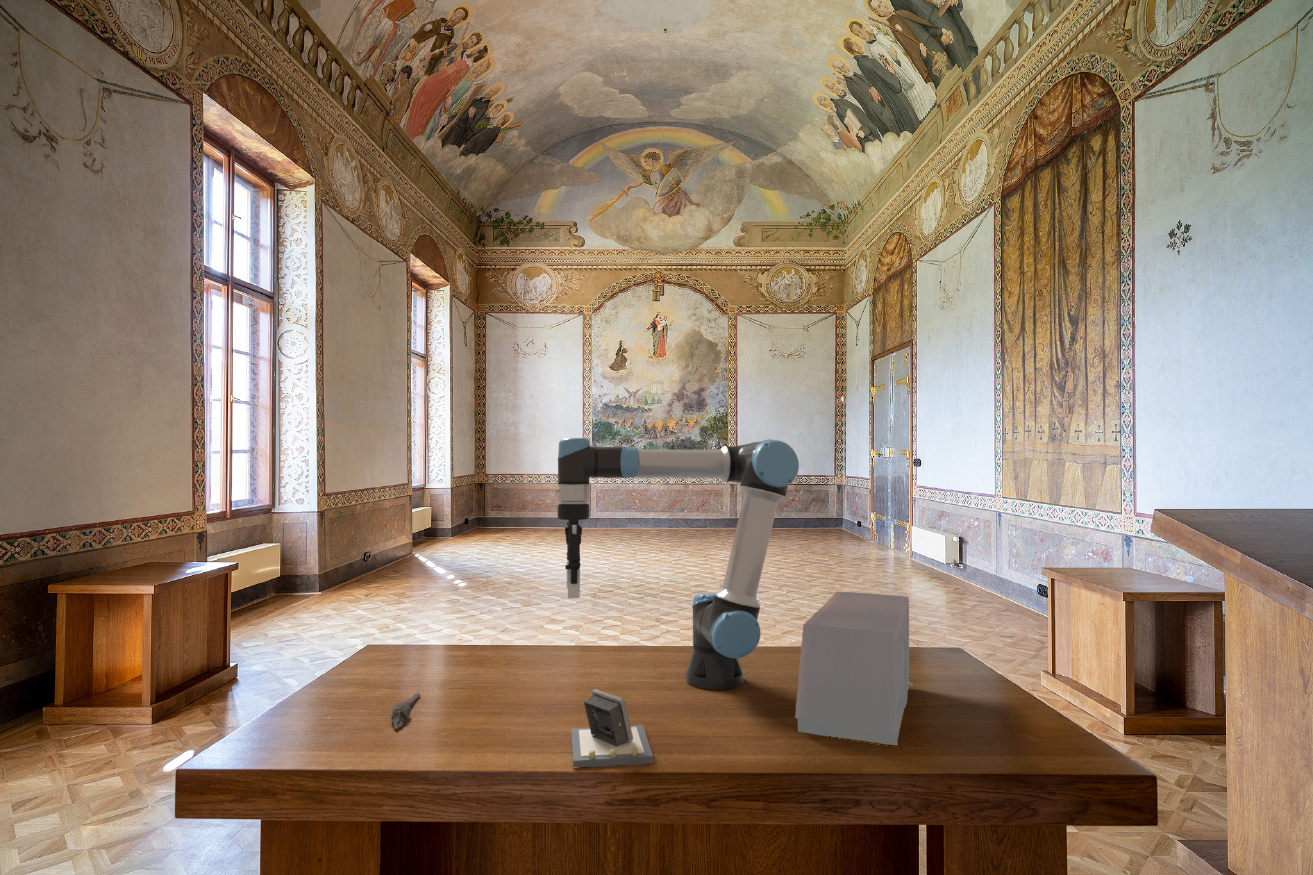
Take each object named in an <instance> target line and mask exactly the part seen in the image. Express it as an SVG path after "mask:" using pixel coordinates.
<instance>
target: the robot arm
mask: <svg viewBox="0 0 1313 875" xmlns="http://www.w3.org/2000/svg"><path fill="white" fill-rule="evenodd" d="M557 452H558V454H557V486H558V488H556V489H555V493H556V494H557V500H558V502H560V503H558V505H557V519H558V520H562V521H564V520H565V521H567V522H566V524H567V526H565V527H564V534H565V542H566V545H567V546H566V560H567V561H566V565H565V570H566V589H567V599H580V598H581V595H580V594H581V593H580V592H581V565H582V564H581V562H580V561H581V553H580V552H581V551H580V550H581V544H582V536H583V535H582V534H583V527H582V526H581V524H579V521H583V520H584V521H586V520H589V518H590V504H589V503H588V502H589V501H590V500H591V498H590V496H591V491H590V488H591V484H590V478H591V479H592V478H594V479H595V478H598V479H599V478H602V479H603V478H604V479H613V478H614V479H621V478H623V479H628V478H630V479H631V478H633V479H634V478H635V479H636V478H637V479H638V478H644V479H645V478H648V479H649V478H650V479H654V478H658V479H665V478H666V479H667V478H668V479H672V478H673V479H675V478H677V479H695V478H696V479H720V480H721V481H722V482H725V483H729V482H730V483H740V485H739V489H740V490H741V492H742V494H743V499H742V504H741V507H740V511H739V515H738V520H737V525H736V528H735V534H734V537H733V540H732V546H731V549H730V555H729V558H728V561H727V562H728V563H727V566H726V571H725V575H724V579H723V584H722V587H721V589H719V590H717V591H716V592H713V593H712V592H710V593H697V594H695V595H694V596H693V598H692V605H691V608H692V653H691V655H690V656H691V657H690V658H689V662H688V666H687V669H686V671H685V672H686V673H685V674H686V675H685V676H686V677H685V682H687V684H689V685H690V686H692V687H695V688H699V689H704V690H714V691H715V690H718V691H720V690H731V689H735V688H738V687H740V686H742V685H743V684H744V672H743V669H742V665H741V662H740V659H742V658H745V657H746V656H748V655H749V654H751V653H753V651H754V650H756V648H757V647H758V645H759V643H760V640H761V631H762V630H761V626H760V624H759V621H758V618H759V614H760V610H761V609H760V608H761V604H760V603H759V601H758V599H757V595H758V590H759V585H760V582H761V578H762V572H763V568H764V565H765V560H766V555H767V551H768V547H769V542H770V537H771V535H772V534H771V533H772V530H773V527H774V526H773V525H774V521H775V516H776V513H777V508H778V504H779V503H780V502H781V501H783V500H785V499H786V496H787V493H788V488H789V485H791V483H793V481H794V480H795V479H796V478H797V477H798V474H799V469H800V462H799V458H798V457H799V456H798V455H797V453H796V452H795V449H793V447H792V446H791V445H790V444H788V443H786V442H784V441H783V440H782V441H781V440H778V439H777V440H776V439H765V440H762V441H761V440H760V441H754V442H750V443H745V444H741V445H733V446H732V445H730V446H728V445H727V446H726V445H724V446H722V447H721V448H720V449H662V448H661V449H657V448H656V449H645V448H644V449H643V448H642V449H641V448H640V449H638V448H636V447H633V446H594V445H593V446H592V445H591V442H590V439H589V438H585V437H564V438H561V439H560V441H559V442H558V451H557Z"/></svg>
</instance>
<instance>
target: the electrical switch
mask: <svg viewBox="0 0 1313 875" xmlns="http://www.w3.org/2000/svg"><path fill="white" fill-rule="evenodd" d="M583 704H584V709H585V713H586V717H587V721H588V726H589V727H588V728H590V731H591V735H593V736H592V737H595V738H597V739H600V740H602V741H604V742H607V743H609V744H612V745H614V746H616V747H618V746H619V745H620V744H621V743H623V742H625V741H626V742H628V743H630V742H631V741H632V740H633V735H632V730H631V722H630V717H629V712H628V709H627V704H626V700H625V699H624V698H623V697H620V696H618V695H614V694H611V693H609V692H605V691H601V690H599V689H596V688H594V689H593V690H591V696H589V698H588V699H586V700H585V701H583ZM609 735H611V736H610V737H611V738H608V737H609ZM614 737H615V738H614ZM612 738H613V739H612Z"/></svg>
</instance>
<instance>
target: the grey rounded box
mask: <svg viewBox="0 0 1313 875" xmlns="http://www.w3.org/2000/svg"><path fill="white" fill-rule="evenodd" d="M801 635H802V636H801V643H800V644H801V646H800V649H801V651H800V657H799V658H800V661H799V669H798V671H799V672H798V682H797V683H798V684H797V691H796V692H797V693H796V703H795V716H794V718H795V719H797V731H798V732H799V733H806V734H811V735H817V736H824V737H829V736H831V737H830V738H835V737H838V738H837V739H841V738H849V739H855V740H865V741H869V742H878V743H883V744H891V745H899V744H898V739H899V735H900V729H901V727H902V726H901V725H902V720H903V716H904V711H905V708H906V706H907V704H908V703H907V702H908V693H909V692H908V691H909V690H908V689H909V688H910V687H909V685H910V686H912V687H913V686H914V684H913V683H911V682H910V680H909V679H910V678H909V676H910V599H909V597H908V596H902V595H893V594H879V593H878V594H877V593H876V594H875V593H867V592H866V593H865V592H853V591H852V592H850V591H836V592H835V593H833V595H832V596H831V597H829V599H828V600H827V601H826V602H825V603H824V604H823V605H822V606H821V607H820V608H819V609H818V610H817V611H816V612H815V613H814V614H812V616H810V618H809V619H808V620H806V621H805V623H804V624H803V625H802V634H801Z"/></svg>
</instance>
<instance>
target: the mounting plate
mask: <svg viewBox="0 0 1313 875" xmlns="http://www.w3.org/2000/svg"><path fill="white" fill-rule="evenodd" d="M630 726H631V730H632V735H633V740H632V741H631V742H630V743H628V742H626V741H625V742H623V743H621V744H620V745H619V746H618V747H616V746H614V745H612V744H609V743H607V742H604V741H602V740H600V739H597V738H595V737H592V736H593V735H591V731H590V727H577V728H576V727H575V728H570V729H571V732H570V733H571V734H570V737H571V752H572V753H571V754H572V756H571V757H572V768H574V767H591V768H603V767H604V768H605V767H619V766H618V765H624V766H638V765H653V764H654V755H653V751H652V749H651V745H650V743H649V740H648V737H647V734H646V731H645V728H644V726H643V724H637V725H636V724H634V725H631V724H630ZM610 736H611V735H609V737H608V738H611V737H610ZM614 738H615V737H614ZM612 739H613V738H612ZM574 769H575V768H574Z"/></svg>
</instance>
